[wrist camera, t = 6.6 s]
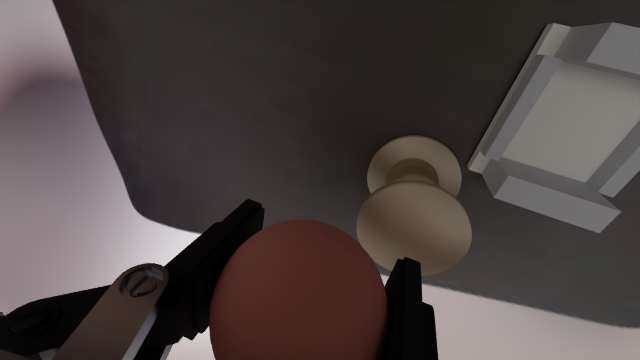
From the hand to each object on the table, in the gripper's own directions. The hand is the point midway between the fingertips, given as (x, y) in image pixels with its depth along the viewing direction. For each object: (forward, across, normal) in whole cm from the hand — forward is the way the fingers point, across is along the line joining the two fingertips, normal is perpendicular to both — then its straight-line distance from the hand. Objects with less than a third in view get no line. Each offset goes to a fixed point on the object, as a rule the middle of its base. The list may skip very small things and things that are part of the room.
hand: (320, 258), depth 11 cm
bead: (+1, 0, 0) cm, 1 cm away
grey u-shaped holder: (+16, -13, -6) cm, 21 cm away
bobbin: (+16, -4, +2) cm, 17 cm away
